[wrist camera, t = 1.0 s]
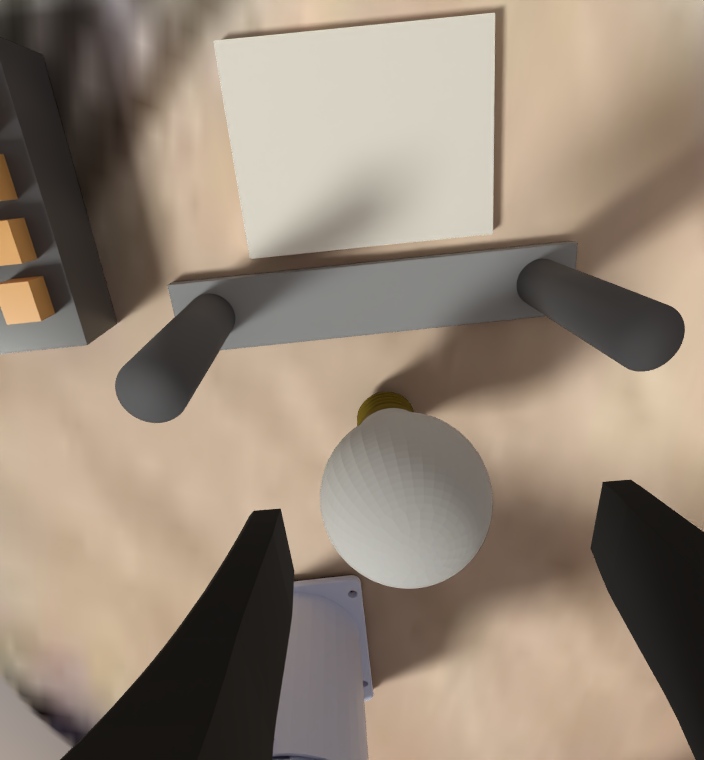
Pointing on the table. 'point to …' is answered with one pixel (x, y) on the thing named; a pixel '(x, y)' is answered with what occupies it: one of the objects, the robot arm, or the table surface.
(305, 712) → the robot arm
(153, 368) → the cable posts
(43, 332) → the terminal block
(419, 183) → the mat
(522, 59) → the table surface
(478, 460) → the light bulb
